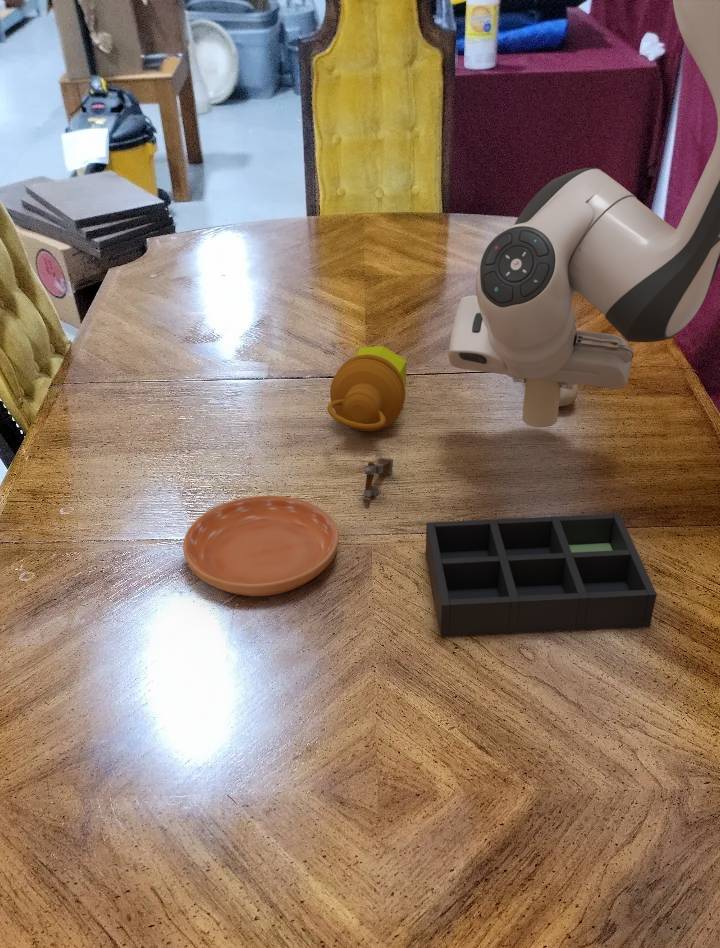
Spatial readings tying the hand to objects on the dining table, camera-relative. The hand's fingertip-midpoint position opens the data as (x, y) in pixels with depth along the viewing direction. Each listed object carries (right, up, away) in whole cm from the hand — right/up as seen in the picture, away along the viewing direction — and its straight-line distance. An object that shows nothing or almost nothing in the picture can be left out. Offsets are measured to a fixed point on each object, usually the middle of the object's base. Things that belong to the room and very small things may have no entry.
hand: (544, 379), depth 118 cm
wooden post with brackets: (-20, -14, -4) cm, 24 cm away
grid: (-5, -26, -19) cm, 32 cm away
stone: (+3, +1, +13) cm, 13 cm away
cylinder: (0, -4, +3) cm, 5 cm away
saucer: (-32, -23, -14) cm, 42 cm away
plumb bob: (-21, -3, +8) cm, 22 cm away
